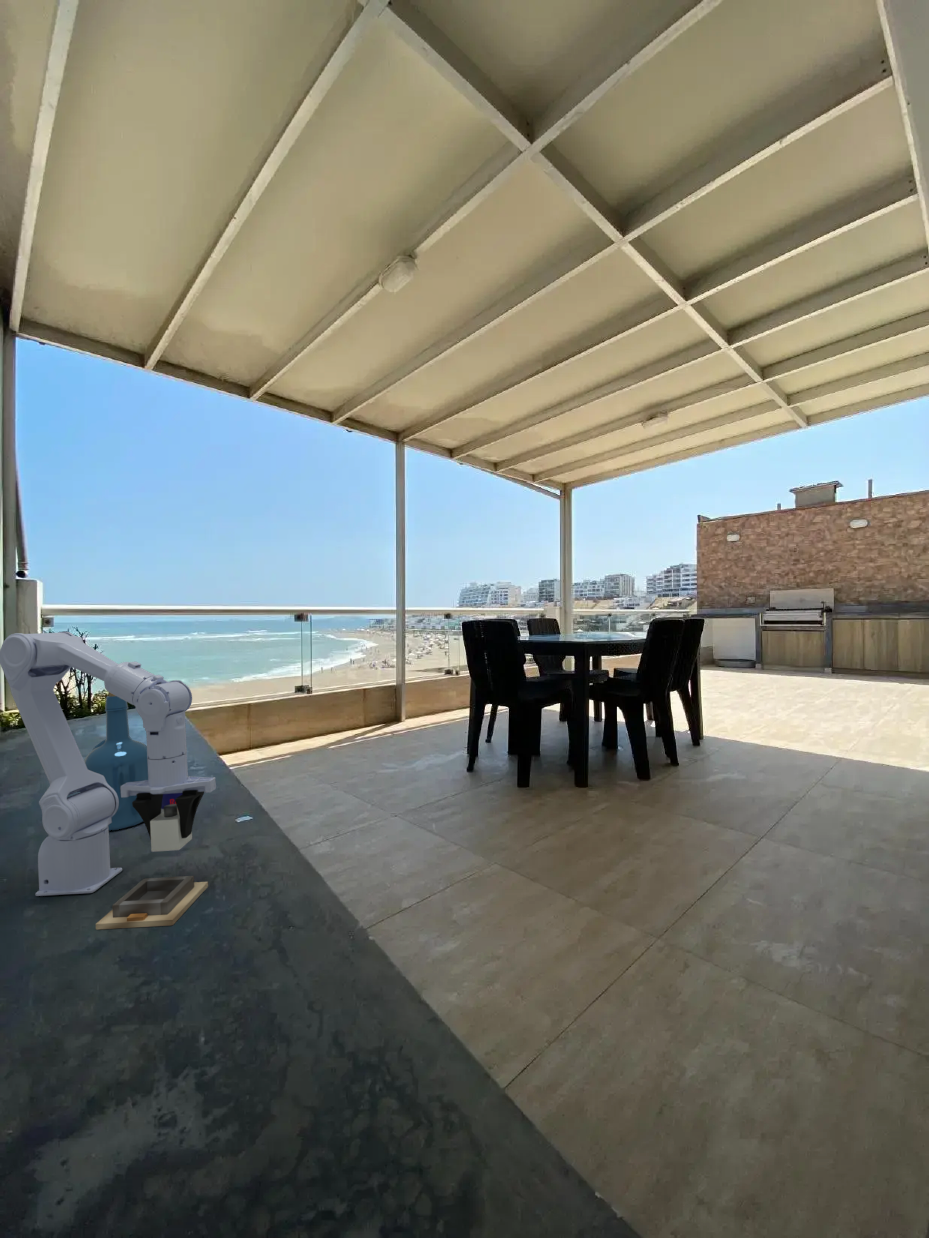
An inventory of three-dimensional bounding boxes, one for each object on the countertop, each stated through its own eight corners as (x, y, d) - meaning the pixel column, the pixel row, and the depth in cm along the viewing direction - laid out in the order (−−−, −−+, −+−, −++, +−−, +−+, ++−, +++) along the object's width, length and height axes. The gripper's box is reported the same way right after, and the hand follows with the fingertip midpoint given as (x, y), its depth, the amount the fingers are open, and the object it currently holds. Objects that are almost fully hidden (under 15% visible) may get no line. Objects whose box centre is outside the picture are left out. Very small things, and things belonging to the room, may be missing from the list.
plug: (151, 851, 85) (149, 811, 85) (165, 840, 89) (164, 802, 89) (179, 850, 85) (177, 810, 85) (192, 838, 90) (190, 800, 90)
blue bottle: (167, 816, 120) (161, 686, 120) (102, 838, 109) (96, 694, 109) (137, 807, 128) (131, 684, 128) (73, 826, 117) (67, 692, 117)
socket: (95, 929, 76) (95, 911, 76) (141, 890, 87) (140, 874, 87) (172, 925, 76) (172, 907, 76) (208, 886, 87) (207, 870, 87)
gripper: (107, 764, 83) (111, 850, 83) (200, 759, 83) (204, 844, 83) (133, 752, 90) (137, 831, 90) (219, 748, 90) (223, 826, 90)
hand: (171, 836), depth 87 cm, fingers closed on plug, 4 cm apart
